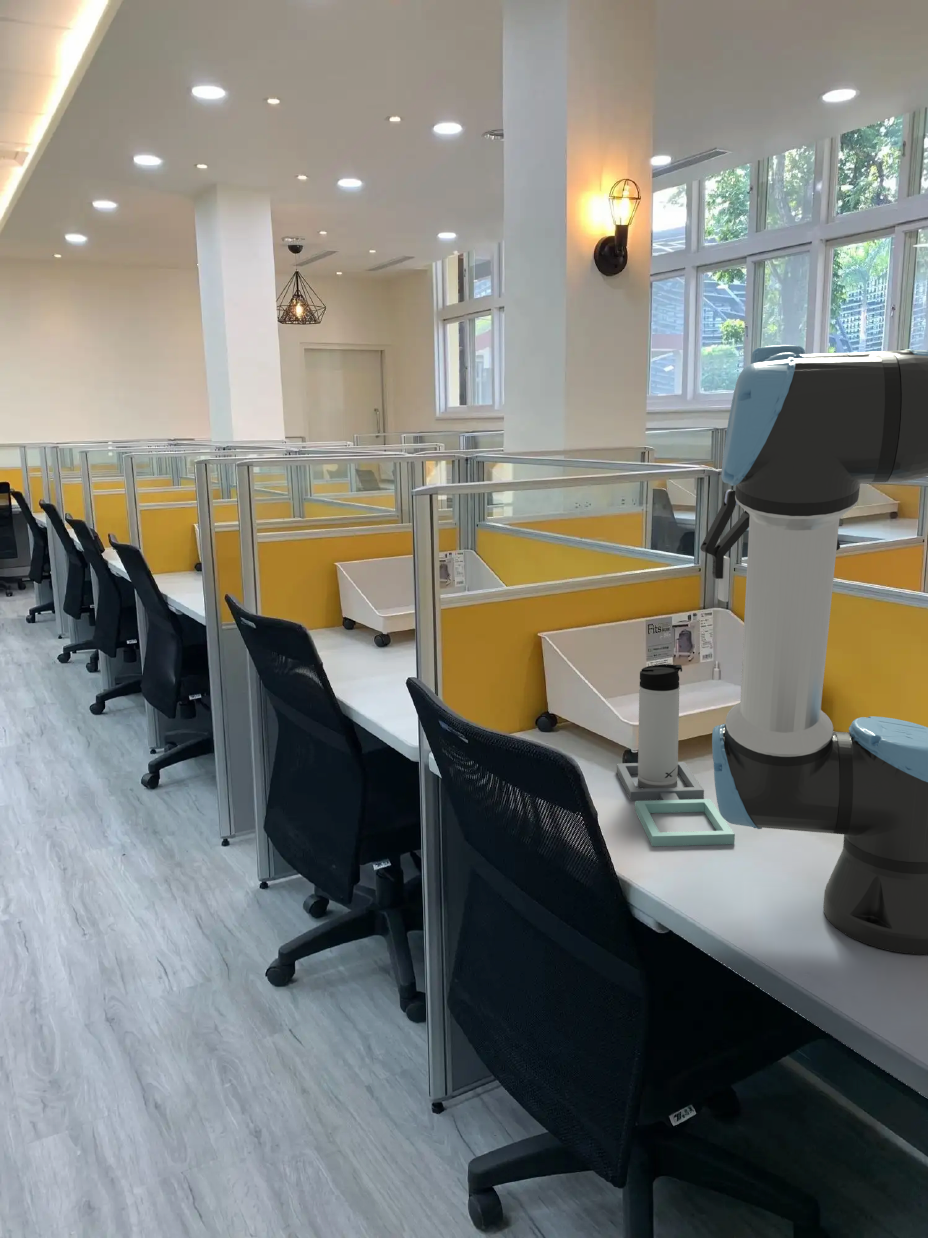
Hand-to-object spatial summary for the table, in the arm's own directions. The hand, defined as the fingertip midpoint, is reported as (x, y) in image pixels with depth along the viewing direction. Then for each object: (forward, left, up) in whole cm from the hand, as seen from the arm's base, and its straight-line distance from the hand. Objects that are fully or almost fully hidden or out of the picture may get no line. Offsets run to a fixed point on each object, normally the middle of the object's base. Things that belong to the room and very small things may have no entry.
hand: (767, 599), depth 139 cm
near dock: (-12, +15, -31) cm, 36 cm away
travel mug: (+4, +15, -31) cm, 35 cm away
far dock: (+3, +15, -31) cm, 35 cm away
